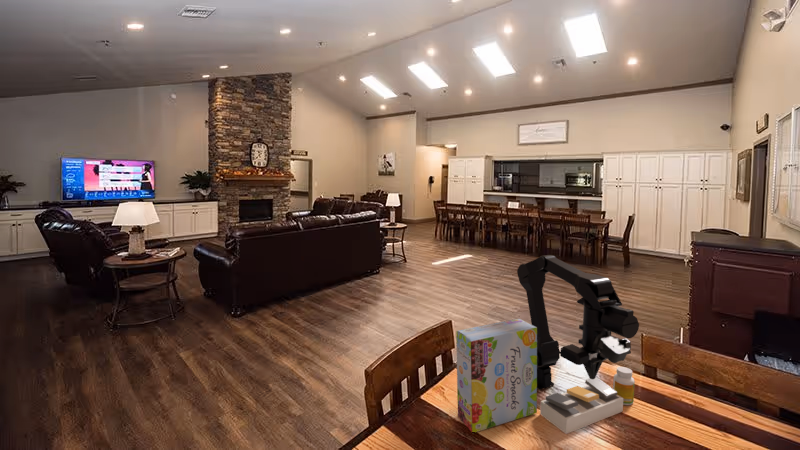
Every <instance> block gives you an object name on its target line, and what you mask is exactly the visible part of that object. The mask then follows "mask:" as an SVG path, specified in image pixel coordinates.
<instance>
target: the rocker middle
mask: <svg viewBox="0 0 800 450" xmlns="http://www.w3.org/2000/svg"><path fill="white" fill-rule="evenodd" d="M582 387H583V386H578V385H576V386H573V387H569V388H568V389H566V392H567V393H568V394H570V395H573V396H575V397H577V398H579V399H582V400H584V401H586V402H590V401H593V400H596V399H598V398H599V394H596V393H594V392H591V391H589V390H586V389H584V388H582Z"/></svg>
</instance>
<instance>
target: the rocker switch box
mask: <svg viewBox="0 0 800 450" xmlns="http://www.w3.org/2000/svg"><path fill="white" fill-rule="evenodd" d="M581 387H582V388H584V389H586V390H589V391H591V392H594V393H596V394H599V393H598V392H596V391H595V390H594V389H592V388H591V387H590V386H589V385H587V384H586V385H585V386H581ZM560 394H561V395H564V396H566V397H568V398H570V399H573V400H575V401H577V402H578V406H576V407H573V408H570V409H567V410H565V409H563V408H561V407H559V406H557V405H555V404H553V403H551V402H549V401H547V400H546V399H543V400H540V409H539V410H540V411H539V414H540V415H541V416H542V417H543V418H545V420H547V421H548V422H550V423H551V424H553V425H554V426H555V427H556V428H558V429H559V430H560V431H561V432H563V433H564V434H566V435H568V434H569V433H572V432H574V431H577V430H580V429H581V428H584V427H588V426H590V425H592V424H595V423H597V422H600V421H601V420H602V421H603V420H604V419H607V418H610V417H612V416H615V415H617V414H620V413H622V412H623V409H624V405H623V398H622V397H620V396H618V395H615V396H613V397H610V398H607V399H606V398H604V397H603V396H602V395H600V394H599V398H598V399H596V400H593V401H590V402H586V401H584V400H582V399H579V398H577V397H575V396H573V395H570V394H568V393H567V391H566V392H564V393H560Z"/></svg>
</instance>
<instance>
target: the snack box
mask: <svg viewBox="0 0 800 450" xmlns="http://www.w3.org/2000/svg"><path fill="white" fill-rule="evenodd" d="M455 333H456V334H455V335H456V337H455V338H456V375H457V376H456V382H457V383H456V384H457V389H456V390H457V393H456V394H457V418H459V419H460V421H461V422H462V423H463V424H464V425H465V427H467V428H468V430H469V431H470V432H471V433H472V432H475V433H477V431H478V432H480V430H481V431H484V430H487V429H490V428H492V427H496V426H500V425H502V424H506V423H508V422H509V423H510V422H512V421H515V420H518V419H522V418H525V417H528V416H531V415H535V414H538V392H537V391H538V388H537V327H535V326H533V325H532V323H528V322H527V321H526V320H525V321H524V320H523V319H521V318H516V319H511V320H506V321H504V320H503V321H499V322H496V323H489V324H485V325H479V326H474V327H470V328H465V329H460V330H456V331H455Z"/></svg>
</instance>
